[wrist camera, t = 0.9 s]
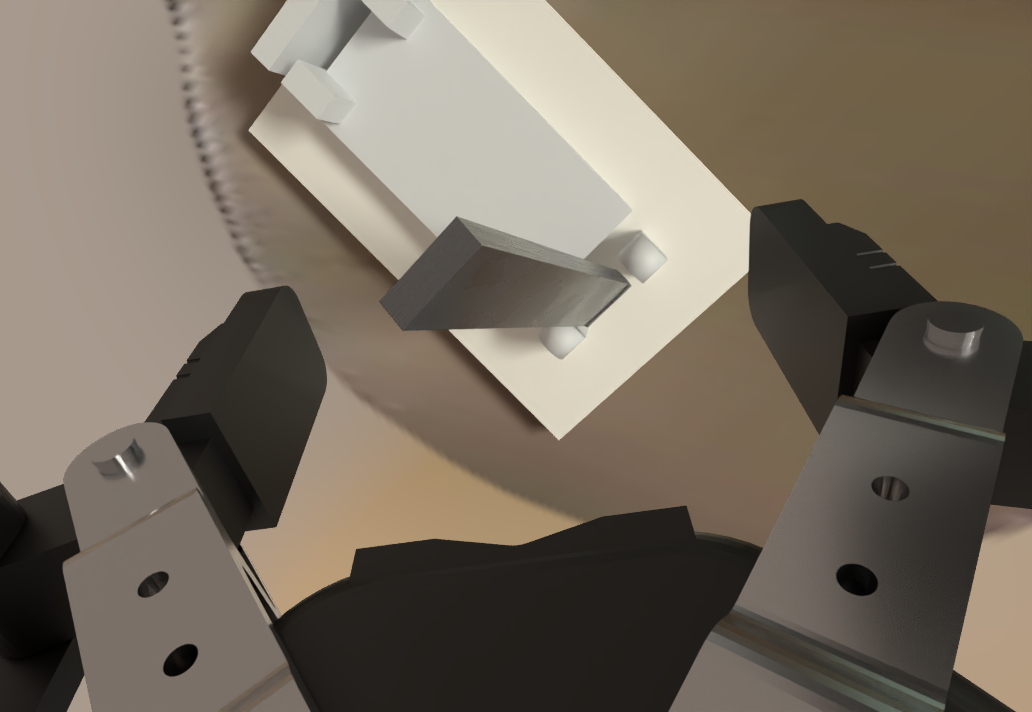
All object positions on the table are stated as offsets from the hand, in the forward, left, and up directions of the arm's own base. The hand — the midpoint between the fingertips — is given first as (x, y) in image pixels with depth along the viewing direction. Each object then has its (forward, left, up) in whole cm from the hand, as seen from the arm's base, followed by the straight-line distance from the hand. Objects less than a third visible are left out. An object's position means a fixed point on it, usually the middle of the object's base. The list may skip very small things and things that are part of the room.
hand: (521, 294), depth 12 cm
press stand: (+2, -5, -27) cm, 27 cm away
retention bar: (+2, 0, -13) cm, 14 cm away
